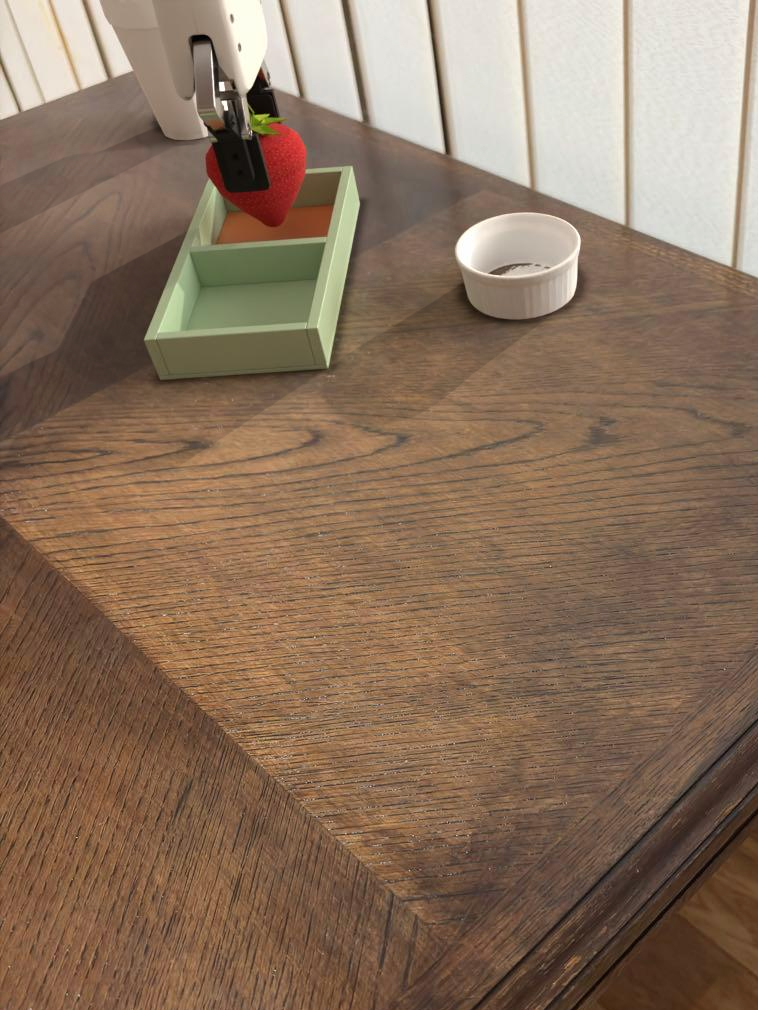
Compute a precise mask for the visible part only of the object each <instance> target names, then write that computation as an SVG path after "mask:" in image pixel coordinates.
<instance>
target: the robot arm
mask: <svg viewBox="0 0 758 1010" xmlns="http://www.w3.org/2000/svg"><path fill="white" fill-rule="evenodd" d="M152 3H153V8H154V12H155V16H156V19H157V23H158V27H159V31H160V35H161V38H162V42H163V46H164V50H165V53H166V57H167V61H168V64H169V68H170V72H171V75H172V79H173V82H174V86H175V89H176V92H177V94H178V95H179V97H180V98H182V99H183V100H185V101H188V100H191V99H192V97H193V96H194V94H195V92H196V106H197V112H198V115H199V117H200V118H201V119H202V120H203V121H204V122H203V123H204V126H205V127H207V131H208V136H207V137H208V139H209V142H210V143H211V145H212V146H213V149H214V153H215V156H216V159H217V163H218V166H219V169H220V173H221V176H222V179H223V183H224V186H225V189H226V190H227V191H228V192H230V193H238V192H252V191H265V190H268V189H269V187H270V184H271V182H270V178H269V174H268V170H267V167H266V163H265V159H264V155H263V152H262V148H261V144H260V140H259V137H258V133H252V129H251V122H250V116H249V113H250V114H251V115H252V111H251V110H250V108H249V107H248V104H249V106H250V107H251V109H252V110H253V111H254V115H263V114H270V115H269V116H268V117H267V118H281V114H280V110H279V106H278V103H277V98H276V93H275V91H274V88H271V87H272V79H271V73H270V71H269V69H268V66H267V63H266V61H265V59H264V58H265V57H266V52H267V49H268V42H269V40H268V39H269V38H268V37H269V36H268V30H267V24H266V23H267V22H266V19H265V14H264V9H263V5H262V0H152ZM219 82H224V83H225V82H226V83H228V82H229V84H230V86H231V88H232V89H229V90H225V91H220V87H219ZM221 101H227V102H228V101H230V102H231V106H232V109H233V110H231V109H228V110H224V105H223V104H222V102H221ZM247 103H248V104H247ZM277 123H278V124H283V121H281V122H277Z"/></svg>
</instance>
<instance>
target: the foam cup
mask: <svg viewBox="0 0 758 1010" xmlns="http://www.w3.org/2000/svg"><path fill="white" fill-rule="evenodd" d="M99 3H100V7H101V9H102V12H103V16H104V18H105V19H106V21H107V22H108V24H109V25H110V26H111V27H112V30H113V31H114V34H115V35H116V37H117V40H118V42H119V44H120V46H121V48H122V50H123V53H124V54H125V56H126V59H127V60H128V63H129V64H130V67H131V69H132V71H133V73H134V75H135V77H136V79H137V81H138V84H139V86H140V88H141V90H142V92H143V94H144V96H145V98H146V101H147V102H148V105H149V107H150V109H151V111H152V112H153V115H154V117H155V119H156V121H157V123H158V124H159V125H158V126H159V127H160V129H161V131H162V134H164V137H166V138H169V139H172V140H174V141H194V140H199V139H205V138H207V137H209V136H208V131H207V127H205V126H204V123H203V122H204V121H203V120H202V119H201V118H200V117H199V115H198V112H197V106H196V92H195V94H194V96H193V97H192V99H191V100H188V101H185V100H183V99H182V98H180V97H179V95H178V94H177V92H176V89H175V86H174V82H173V79H172V75H171V72H170V68H169V64H168V61H167V57H166V53H165V50H164V46H163V42H162V38H161V35H160V31H159V27H158V23H157V19H156V16H155V12H154V8H153V3H152V0H99ZM219 87H220V91H226V88H225V82H219ZM221 102H222V104H223V105H224V110H229V108H228V101H221Z"/></svg>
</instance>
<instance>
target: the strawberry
mask: <svg viewBox="0 0 758 1010" xmlns="http://www.w3.org/2000/svg"><path fill="white" fill-rule="evenodd" d="M247 104H248V103H247ZM248 107H249V108H250V110H251V111H252V115H251V114H250V113H249V116H250V122H251V129H252V133H258V137H259V140H260V144H261V148H262V152H263V155H264V159H265V163H266V167H267V170H268V174H269V178H270V182H271V184H270V187H269V189H268V190H265V191H252V192H238V193H230V192H228V191H227V190H226V189H225V186H224V183H223V179H222V176H221V173H220V169H219V166H218V163H217V159H216V156H215V153H214V149H213V146H212V144H211V145H210V147H209V148H208V150H207V152H206V154H205V157H204V158H205V171H206V174H207V177H208V179H209V178H210V180H211V181H212V183H213V184H214V185H215V187H216V188H217V190H218V191H219V193H220V194H221V195H222V196H223V197H224V198H226V199H227V200H228V201H230V202H231V203H232V204H234V205H235V206H236V207H238V208H239V209H240V210H242V211H243V212H245V213H247V214H248V215H250V216H252V217H254V218H256V219H257V220H259V221H260V222H262V223H263V224H264V225H266V226H268V227H278V226H280V225H281V224H282V223H283V222H284V220H285V219H286V216H287V214H288V212H289V210H290V208H291V206H292V205H293V203H294V201H295V199H296V197H297V195H298V192H299V190H300V187H301V184H302V182H303V179H304V177H305V169H307V168H306V167H307V166H306V165H307V148H306V145H305V144H304V142H303V140H302V137H301V135H300V134H299V133H298V132H297V131H295V130H294V129H292V128H291V127H289V126H287V125H285V124H283V123H282V124H278V123H277V122H284V121H287V119H288V118H287V117H280V118H267V117H268V116H269V115H270V114H263V115H254V111H253V110H252V109H251V107H250V106H249V104H248Z"/></svg>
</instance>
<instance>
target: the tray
mask: <svg viewBox="0 0 758 1010" xmlns="http://www.w3.org/2000/svg"><path fill="white" fill-rule="evenodd" d="M197 204H198V205H197V207H196V209H195V212H194V215H193V216H192V219H191V222H190V224H189V227H188V229H187V232H186V234H185V236H184V239H183V242H182V244H181V247H180V249H179V252H178V254H177V256H176V259H175V261H174V264H173V267H172V269H171V272H170V274H169V275H168V279H167V281H166V283H165V286H164V289H163V291H162V294H161V296H160V298H159V301H158V303H157V307H156V309H155V310H154V313H153V316H152V318H151V321H150V323H149V326H148V328H147V331H146V333H145V336H144V339H143V343H144V344H145V347H146V349H147V352H148V355H149V357H150V360H151V362H152V364H153V366H154V369H155V372H156V375H157V376H158V378H159V380H160V381H162V380H163V381H165V380H177V379H193V378H208V377H221V376H222V377H223V376H235V375H237V376H238V375H239V376H240V375H251V374H266V373H267V374H268V373H281V372H295V371H296V372H297V371H311V370H321V369H322V370H324V369H329V367H330V362H331V357H332V352H333V351H332V350H333V347H334V340H335V335H336V332H337V325H338V320H339V315H340V309H341V305H342V299H343V295H344V288H345V283H346V279H347V273H348V268H349V264H350V263H349V262H350V259H351V258H350V257H351V252H352V247H353V243H354V237H355V232H356V227H357V222H358V216H359V212H360V211H359V210H360V206H361V202H360V196H359V191H358V187H357V182H356V177H355V172H354V168H353V165H345V166H344V165H343V166H333V167H317V168H306V169H305V177H304V179H303V182H302V184H301V187H300V190H299V192H298V195H297V197H296V199H295V201H294V203H293V205H292V206H291V208H290V210H289V212H288V214H287V216H286V219H285V220H284V222H283V223H282V224H281V225H280V226H278V227H268V226H266V225H264V224H263V223H262V222H260V221H259V220H257V219H256V218H254V217H252V216H250V215H248V214H247V213H245V212H243V211H242V210H240V209H239V208H238V207H236V206H235V205H234V204H232V203H231V202H230V201H228V200H227V199H226V198H224V197H223V196H222V195H221V194H220V193H219V191H218V190H217V188H216V187H215V185H214V184H213V183H212V181H211V180H210V178H209V177H208V179H207V182H206V184H205V186H204V190H203V192H202V195H201V197H200V199H199V202H198V203H197Z"/></svg>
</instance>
